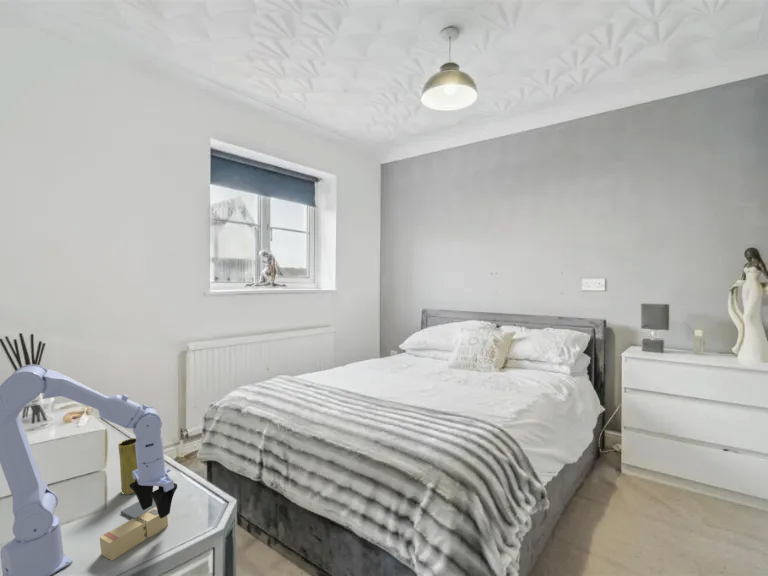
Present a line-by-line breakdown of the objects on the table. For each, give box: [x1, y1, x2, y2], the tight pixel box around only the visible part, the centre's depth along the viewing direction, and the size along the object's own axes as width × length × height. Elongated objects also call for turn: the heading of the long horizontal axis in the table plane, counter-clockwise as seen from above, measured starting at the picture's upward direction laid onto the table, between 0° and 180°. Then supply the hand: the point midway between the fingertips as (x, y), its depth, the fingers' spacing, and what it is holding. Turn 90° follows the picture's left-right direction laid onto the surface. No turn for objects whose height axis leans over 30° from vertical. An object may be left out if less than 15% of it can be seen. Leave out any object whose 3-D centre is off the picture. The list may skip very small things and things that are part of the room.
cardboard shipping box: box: [99, 518, 147, 562], centre depth 90 cm, size 8×4×4 cm, turn 150°
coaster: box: [120, 500, 156, 520], centre depth 104 cm, size 7×7×1 cm
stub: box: [136, 506, 169, 539], centre depth 95 cm, size 5×4×4 cm
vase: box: [117, 437, 137, 495], centre depth 114 cm, size 6×6×14 cm
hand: (155, 511), depth 96 cm, fingers open, 7 cm apart
